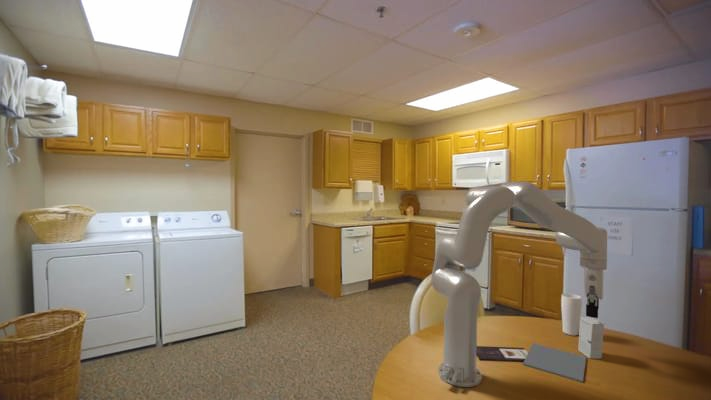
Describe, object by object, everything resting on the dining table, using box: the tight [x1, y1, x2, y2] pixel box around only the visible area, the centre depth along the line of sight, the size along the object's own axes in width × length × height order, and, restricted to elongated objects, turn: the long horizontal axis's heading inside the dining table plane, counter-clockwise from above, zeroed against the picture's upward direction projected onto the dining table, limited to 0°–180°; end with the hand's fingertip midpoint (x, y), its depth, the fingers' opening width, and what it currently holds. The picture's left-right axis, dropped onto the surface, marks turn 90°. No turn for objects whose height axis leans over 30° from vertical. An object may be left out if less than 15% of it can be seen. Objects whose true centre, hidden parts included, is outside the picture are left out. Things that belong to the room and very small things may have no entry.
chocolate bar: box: [476, 345, 529, 363], centre depth 113 cm, size 9×1×18 cm
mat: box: [522, 342, 587, 383], centre depth 108 cm, size 18×16×1 cm
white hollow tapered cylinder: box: [560, 293, 583, 337], centre depth 130 cm, size 7×7×15 cm
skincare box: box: [577, 316, 605, 360], centre depth 113 cm, size 6×4×12 cm
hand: (592, 312), depth 113 cm, fingers open, 9 cm apart
